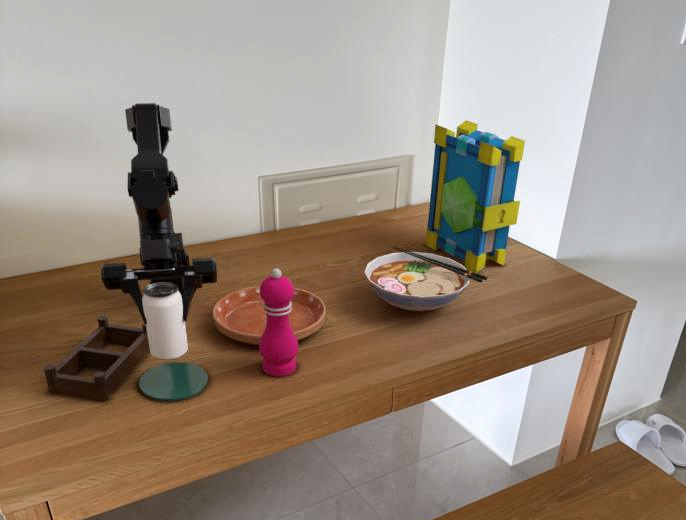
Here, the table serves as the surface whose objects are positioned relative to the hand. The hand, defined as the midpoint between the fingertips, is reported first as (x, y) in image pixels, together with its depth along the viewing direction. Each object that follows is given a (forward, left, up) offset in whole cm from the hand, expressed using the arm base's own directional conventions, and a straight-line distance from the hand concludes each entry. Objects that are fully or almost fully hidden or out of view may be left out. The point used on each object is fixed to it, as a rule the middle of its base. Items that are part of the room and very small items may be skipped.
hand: (165, 322), depth 121 cm
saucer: (-18, -22, -13) cm, 31 cm away
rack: (+13, -7, -13) cm, 20 cm away
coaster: (0, -1, -13) cm, 13 cm away
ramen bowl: (-50, -29, -13) cm, 59 cm away
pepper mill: (-19, -5, -13) cm, 24 cm away
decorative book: (-68, -55, -13) cm, 88 cm away
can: (0, -1, -7) cm, 7 cm away
